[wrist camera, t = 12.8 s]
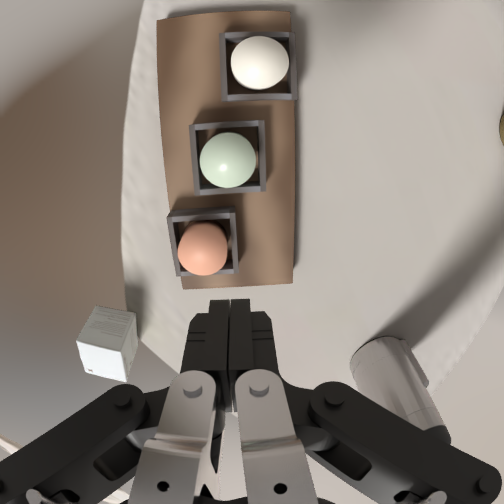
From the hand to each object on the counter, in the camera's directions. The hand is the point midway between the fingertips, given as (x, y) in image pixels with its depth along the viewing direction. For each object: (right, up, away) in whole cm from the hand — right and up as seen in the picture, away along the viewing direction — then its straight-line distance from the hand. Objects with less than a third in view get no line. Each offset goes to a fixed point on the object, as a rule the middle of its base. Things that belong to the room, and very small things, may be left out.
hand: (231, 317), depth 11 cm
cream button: (+1, +18, +10) cm, 21 cm away
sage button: (-1, +11, +14) cm, 17 cm away
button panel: (-1, +12, +16) cm, 20 cm away
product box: (-18, -7, +25) cm, 31 cm away
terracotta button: (-4, +4, +17) cm, 18 cm away
